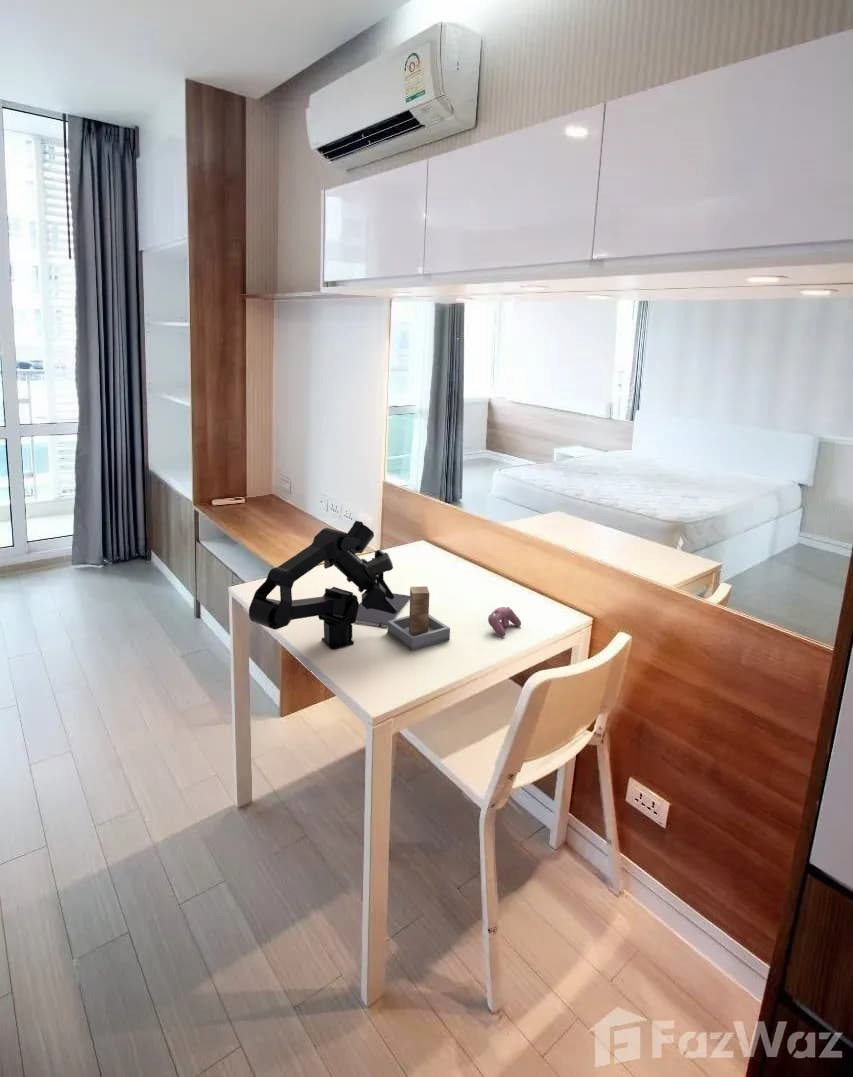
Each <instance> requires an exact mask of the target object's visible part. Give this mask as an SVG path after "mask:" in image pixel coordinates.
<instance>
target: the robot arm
mask: <svg viewBox="0 0 853 1077" xmlns="http://www.w3.org/2000/svg"><path fill="white" fill-rule="evenodd" d="M374 536H375V534H374V531H373V530H371V528H369V527H368V526H367V525H365V524H364V523H363V521H359V520H355V521H354V523H353V525H352V526H351V528H350V529H349V530H348V532H346V531H342V530H339V529H334V528H329V527H324V528H322V529H321V530H320V531H319V532H318V533H317V534H316V535H315V536H314V537H313V541H312V543H311V544H310V545H308V546H307V547H306V548H304V549H302V550H301V551H300V552H298V553H296V554H295V555H294V556H292V557H291V558H289V559H287V560H286V561H285V562H283V563H282V564H280V565H278V566H277V567H273V568H271V569H270V571H268V574H267V577H266V579H265V581H264V582H263V583H262V584H261V585H260V586H259V587H258V588H257V589H256V591H255V592H254V595H253V596H252V600H251V603H250V605H249V609H248V616H249V619H250V621H251V622H253V623H255V624H258V625H261V626H263V627H266V628H268V629H272V630H275V631H276V630H279V629H283V628H284V627H287V626H288V625H289V624H290V623H291V621H293V620H298V619H299V620H301V619H306V618H313V617H317V618H318V620H319V621H323V637H322V638H321V642H323V643H324V644H325V645H326V646H327V647H328V648H329V649H330V650H332V651H334V650H338V649H341V648H345V647H348V646H351V645H354V644H355V641H354V640H352V639H353V624H355V623H356V622H355V621H356V617H357V613H358V608H359V604H360V602H359V599H358V596H357V595H355V594H354V592H353V591H349V590H345V589H343V588H339V587H336V586H333V587H330V588H327V587H326V588H325V589H324V593H323V595H322V596H318V597H317V596H316V597H308V598H307V597H306V598H299V599H293V596H292V595H293V593H292V589H293V586H294V584H295V582H296V581H297V580H299V579H300V578H302V577H303V576H305V575H306V574H307V573H309V572H310V571H311V570H313V569H315V568H316V567H317V566H319V565H320V564H322V563H323V568H324V569H325V570H327V569H329V568H331V567H335V568H336V569H337V570H338V571H340V573H342V574H343V575H344V576H345V577H346V581H347V582H348V583H353V584H354V585H355V587H357V590H358V592H360V593H361V602H362V605H363V606H364V607H365V608H366V609H376V610H380V611H384V612H388V613H391V614H395V613H396V612H397V610H396V609H395V608H394V606H393V605H392V604H391V603H390V601H389V600H388V599H387V598H389V599H393V598H394V595H393V593H394V592H392V591H391V589H390V587H389V586H388V584H387V583H386V581H385V579H384V573H386V572H390V571H392V570H393V569H394V566H393V562H392V560H391V558H390V554H389V553H388V552H385V551H383V550H381V549H377V550H376V551H374V557H371V559H370V560H367V559H365V558H360V557H359V556H358V555H356V554H362V553H363V552H364V551H365V549H366V548H367V547H368V545H369V544H370V542H371V541H372V540H373V539H374ZM277 586H278V587H279V594H280V600H278V599H273V598H267V597H268V595H270V593H271V592H272V591H274V589H275V588H276V587H277ZM386 597H387V598H386Z"/></svg>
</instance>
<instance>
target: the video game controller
mask: <svg viewBox="0 0 853 1077" xmlns="http://www.w3.org/2000/svg"><path fill="white" fill-rule="evenodd" d="M487 620H488V621H487V622H488V624H489V626H490V627H491V628H492V629H493V631H494V632H495V633H496V634H497V635H498V636H500V637H502V636H503V637H505V636H506V631H505V629H504V628H506V627H509V625H510V623H512V625H514V626H516V627H518V626H519V627H521V626H522V621H521V619H520V617H518V616H517V614H516V613H515V612H514V611H513V609H512V608H510V606H503V607H502V606H501V607H497V608H496V609H494V610H493V611H492V612H491V614H489V615H488V619H487Z"/></svg>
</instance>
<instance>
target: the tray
mask: <svg viewBox="0 0 853 1077" xmlns="http://www.w3.org/2000/svg"><path fill="white" fill-rule="evenodd" d="M409 616H410V615H405V616H403V617H399V618H396V619H394V620H390V621H388V627H387V634H388V635H389V636H391V637H392V638H394V639H395V640H396V641H397V642H399V643H400V644H402V645H403V646H404V647H406V648H407V649H408V650H410V651H411V652H413V651H416V650H419V649H420V650H421V649H423V648H427V647H430V646H434V645H437V644H441V643H444V642H447V641H450V640H451V639H450V638H451V637H450V636H451V627H449V626H448V625H447V624H445V623H443V622H441V621H440V620H438V619H437V618H436V617H434V616H432V615H431V614H429V619H428V632H427V633H423V634H420V635H416V636H412V635H411V634H410V631H409Z"/></svg>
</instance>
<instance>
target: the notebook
mask: <svg viewBox="0 0 853 1077" xmlns="http://www.w3.org/2000/svg"><path fill="white" fill-rule="evenodd" d="M392 593H393V595H394V598H393V599H389V598H387V597H386V598H387V599H388V600H389V601H390V603H391V604H392V605H393V606H394V608H395V609H396V610H397V612H396V613H395V614H391V613H388V612H384V611H380V610H376V609H366V608H365V607H364V606H363V605H362V601H361V602H359V608H358V613H357V617H356V621H355V622H354V623H356V624H362V625H369V626H375V627H378V628H379V627H380V628H381V627H382V628H388V621H390V620H394V619H397V617H399V615H400V614H401V612H403V610H404V608H406V607H407V605H408V603H410V595H406V594H400V593H394V592H392Z"/></svg>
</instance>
